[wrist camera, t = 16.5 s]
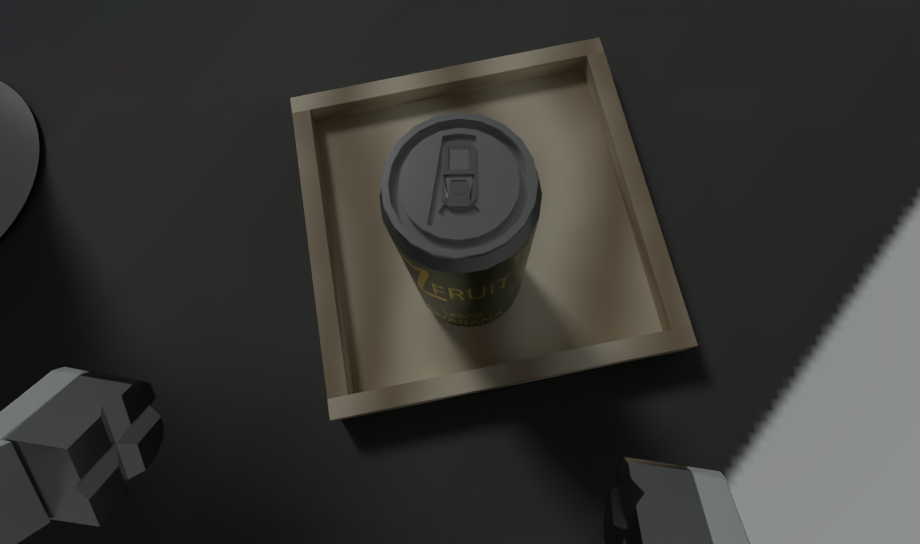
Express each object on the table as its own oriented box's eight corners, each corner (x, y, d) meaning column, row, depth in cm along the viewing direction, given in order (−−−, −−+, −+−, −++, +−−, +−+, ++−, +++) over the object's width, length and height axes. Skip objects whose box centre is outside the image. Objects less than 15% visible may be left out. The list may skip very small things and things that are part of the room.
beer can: (419, 232, 29) (376, 107, 17) (518, 230, 29) (542, 104, 17) (417, 329, 27) (369, 266, 16) (521, 329, 27) (549, 263, 16)
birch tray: (340, 420, 27) (329, 420, 25) (302, 117, 32) (290, 98, 30) (682, 350, 27) (697, 345, 25) (592, 60, 32) (599, 37, 30)
